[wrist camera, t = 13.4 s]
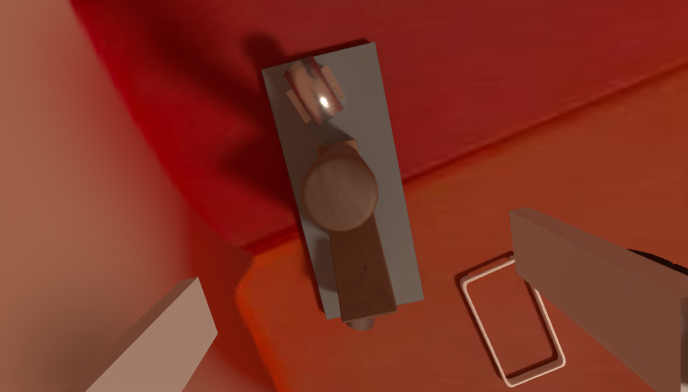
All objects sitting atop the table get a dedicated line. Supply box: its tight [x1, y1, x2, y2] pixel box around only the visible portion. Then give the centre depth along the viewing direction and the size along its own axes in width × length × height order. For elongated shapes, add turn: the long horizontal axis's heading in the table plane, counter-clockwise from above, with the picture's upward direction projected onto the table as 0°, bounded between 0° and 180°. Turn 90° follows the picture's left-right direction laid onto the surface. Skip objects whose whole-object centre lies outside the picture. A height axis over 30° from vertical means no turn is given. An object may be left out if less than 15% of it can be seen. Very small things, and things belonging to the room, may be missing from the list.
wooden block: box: [300, 138, 397, 323], centre depth 24 cm, size 4×11×18 cm, turn 12°
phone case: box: [460, 255, 566, 387], centre depth 36 cm, size 7×1×15 cm
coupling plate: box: [261, 42, 424, 319], centre depth 33 cm, size 27×11×1 cm, turn 13°
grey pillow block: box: [283, 56, 346, 127], centre depth 28 cm, size 5×4×5 cm
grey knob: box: [338, 300, 375, 330], centre depth 32 cm, size 5×4×5 cm
